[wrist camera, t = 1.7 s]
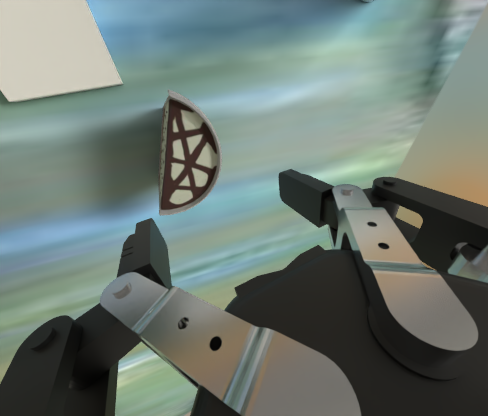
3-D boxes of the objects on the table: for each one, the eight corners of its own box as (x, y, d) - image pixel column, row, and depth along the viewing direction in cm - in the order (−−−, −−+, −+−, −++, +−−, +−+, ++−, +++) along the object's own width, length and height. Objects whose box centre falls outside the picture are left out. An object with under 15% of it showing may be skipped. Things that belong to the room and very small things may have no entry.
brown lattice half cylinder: (198, 190, 30) (214, 220, 22) (157, 186, 27) (159, 219, 19) (211, 108, 26) (238, 109, 18) (163, 94, 23) (169, 87, 15)
